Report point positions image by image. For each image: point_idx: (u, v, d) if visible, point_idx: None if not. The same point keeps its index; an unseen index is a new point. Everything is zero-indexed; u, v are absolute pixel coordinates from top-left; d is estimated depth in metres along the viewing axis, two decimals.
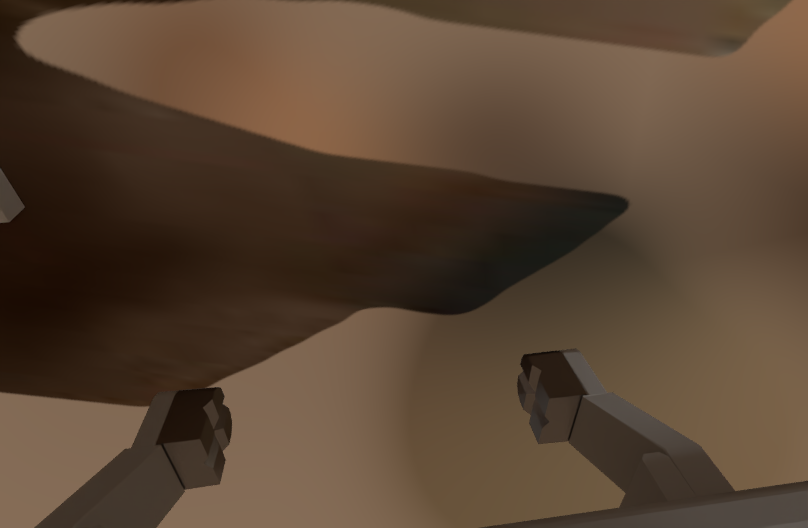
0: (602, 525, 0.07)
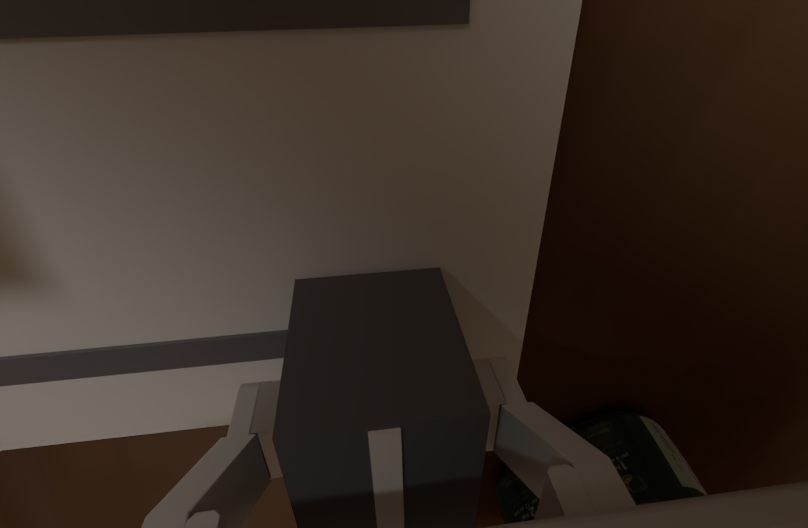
0: (602, 526, 0.07)
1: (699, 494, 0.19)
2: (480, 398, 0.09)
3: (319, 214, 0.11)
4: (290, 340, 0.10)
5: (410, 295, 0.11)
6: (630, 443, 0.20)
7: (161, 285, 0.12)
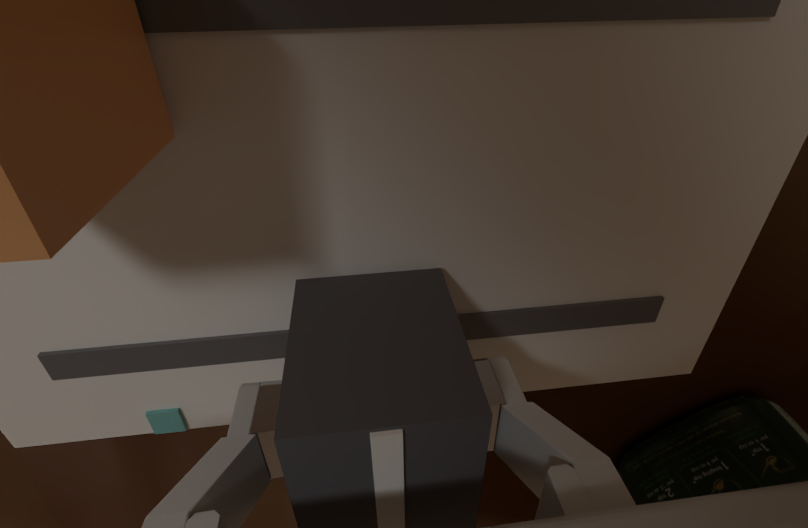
0: (602, 525, 0.07)
1: None
2: (482, 399, 0.09)
3: (579, 197, 0.12)
4: (291, 341, 0.10)
5: (411, 296, 0.11)
6: (767, 426, 0.21)
7: (418, 264, 0.13)
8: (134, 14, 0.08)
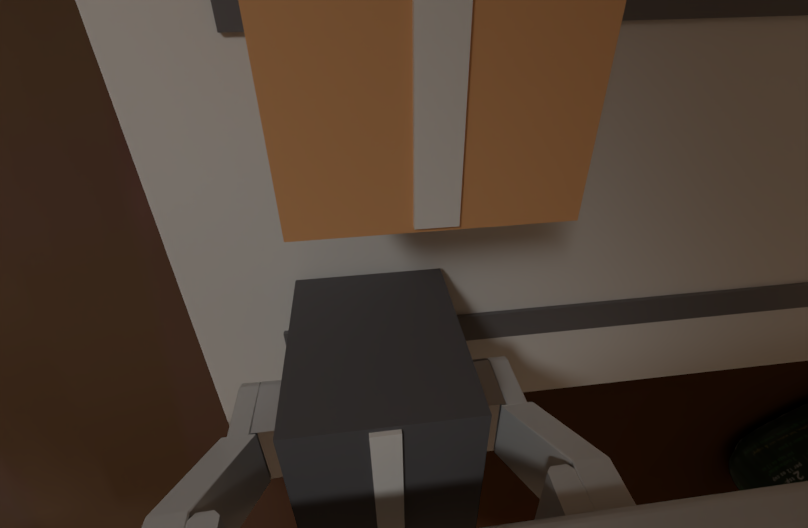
0: (602, 526, 0.07)
1: None
2: (481, 400, 0.09)
3: (805, 182, 0.13)
4: (291, 341, 0.10)
5: (411, 296, 0.11)
6: None
7: (643, 246, 0.13)
8: None
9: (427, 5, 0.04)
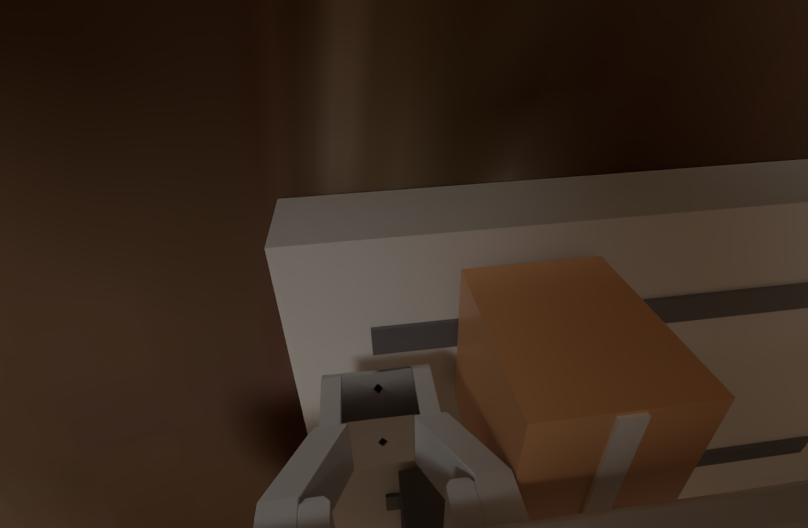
0: (602, 525, 0.07)
1: None
2: None
3: (768, 388, 0.17)
4: None
5: None
6: None
7: None
8: None
9: (598, 485, 0.09)
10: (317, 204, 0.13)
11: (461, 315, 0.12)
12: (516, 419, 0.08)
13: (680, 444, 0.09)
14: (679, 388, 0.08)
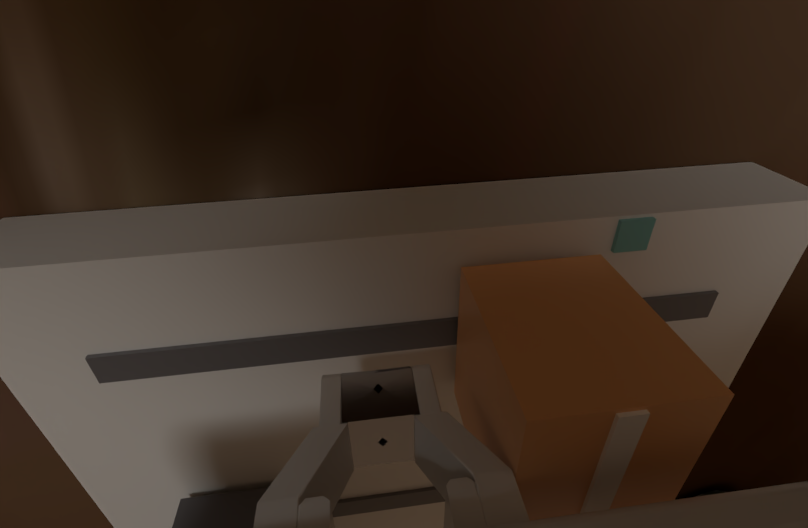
0: (602, 526, 0.07)
1: None
2: None
3: None
4: None
5: None
6: None
7: None
8: None
9: (597, 482, 0.09)
10: (36, 224, 0.13)
11: (461, 313, 0.13)
12: (516, 416, 0.08)
13: (679, 441, 0.09)
14: (678, 385, 0.08)
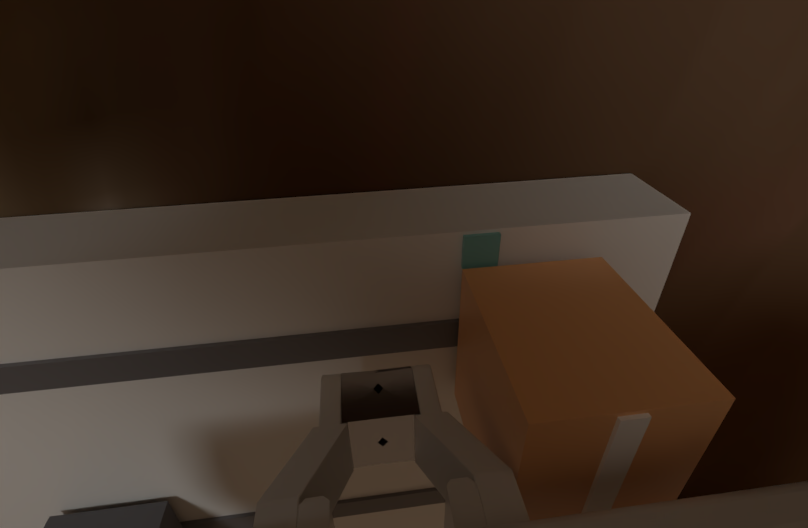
0: (602, 526, 0.07)
1: None
2: None
3: None
4: None
5: None
6: None
7: None
8: None
9: (598, 485, 0.09)
10: None
11: (462, 315, 0.13)
12: (517, 419, 0.08)
13: (680, 444, 0.09)
14: (679, 389, 0.08)
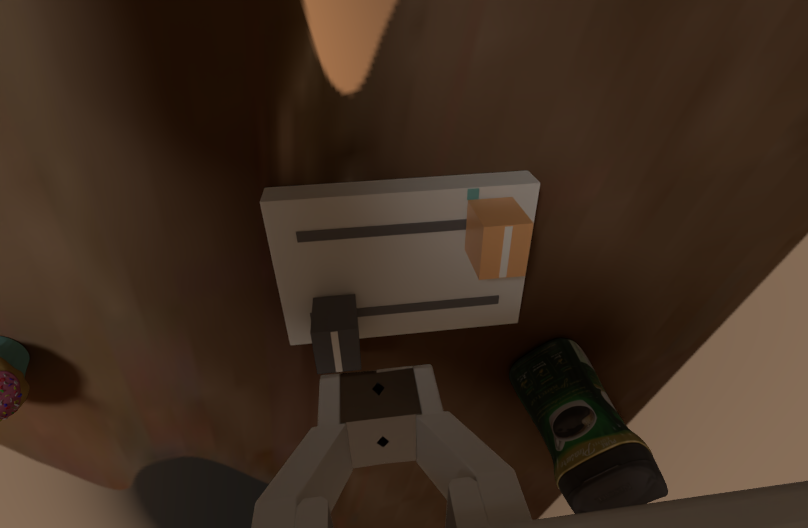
0: (602, 525, 0.07)
1: (587, 365, 0.50)
2: (355, 325, 0.38)
3: (466, 267, 0.43)
4: (312, 313, 0.40)
5: (345, 302, 0.41)
6: (563, 348, 0.51)
7: (420, 286, 0.43)
8: None
9: (503, 251, 0.36)
10: (278, 189, 0.38)
11: (467, 215, 0.39)
12: (481, 229, 0.35)
13: (523, 238, 0.35)
14: (521, 222, 0.35)
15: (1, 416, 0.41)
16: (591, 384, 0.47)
